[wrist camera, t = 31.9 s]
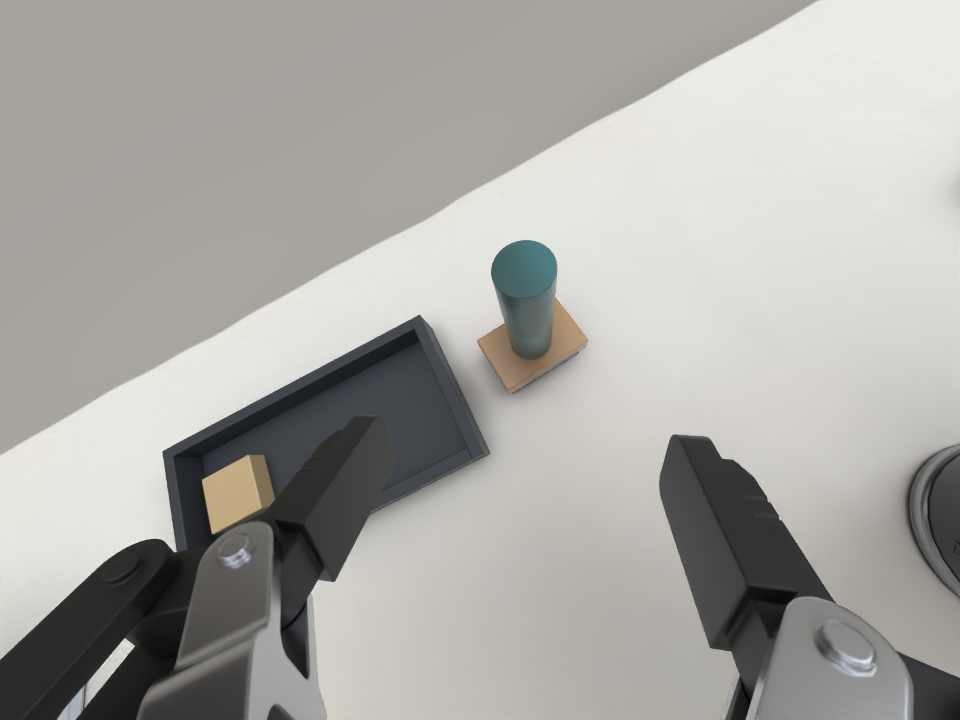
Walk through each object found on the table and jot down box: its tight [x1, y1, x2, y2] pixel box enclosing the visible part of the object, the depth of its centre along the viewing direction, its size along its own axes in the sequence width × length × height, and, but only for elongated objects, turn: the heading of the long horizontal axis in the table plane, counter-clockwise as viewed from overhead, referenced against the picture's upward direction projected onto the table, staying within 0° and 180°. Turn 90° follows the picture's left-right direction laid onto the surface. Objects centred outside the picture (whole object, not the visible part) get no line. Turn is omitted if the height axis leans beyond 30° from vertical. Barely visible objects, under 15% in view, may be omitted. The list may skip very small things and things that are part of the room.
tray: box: [163, 315, 490, 552], centre depth 24 cm, size 22×11×3 cm, turn 116°
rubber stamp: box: [477, 240, 588, 394], centre depth 19 cm, size 6×4×12 cm, turn 121°
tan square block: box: [202, 455, 275, 534], centre depth 24 cm, size 4×4×2 cm
